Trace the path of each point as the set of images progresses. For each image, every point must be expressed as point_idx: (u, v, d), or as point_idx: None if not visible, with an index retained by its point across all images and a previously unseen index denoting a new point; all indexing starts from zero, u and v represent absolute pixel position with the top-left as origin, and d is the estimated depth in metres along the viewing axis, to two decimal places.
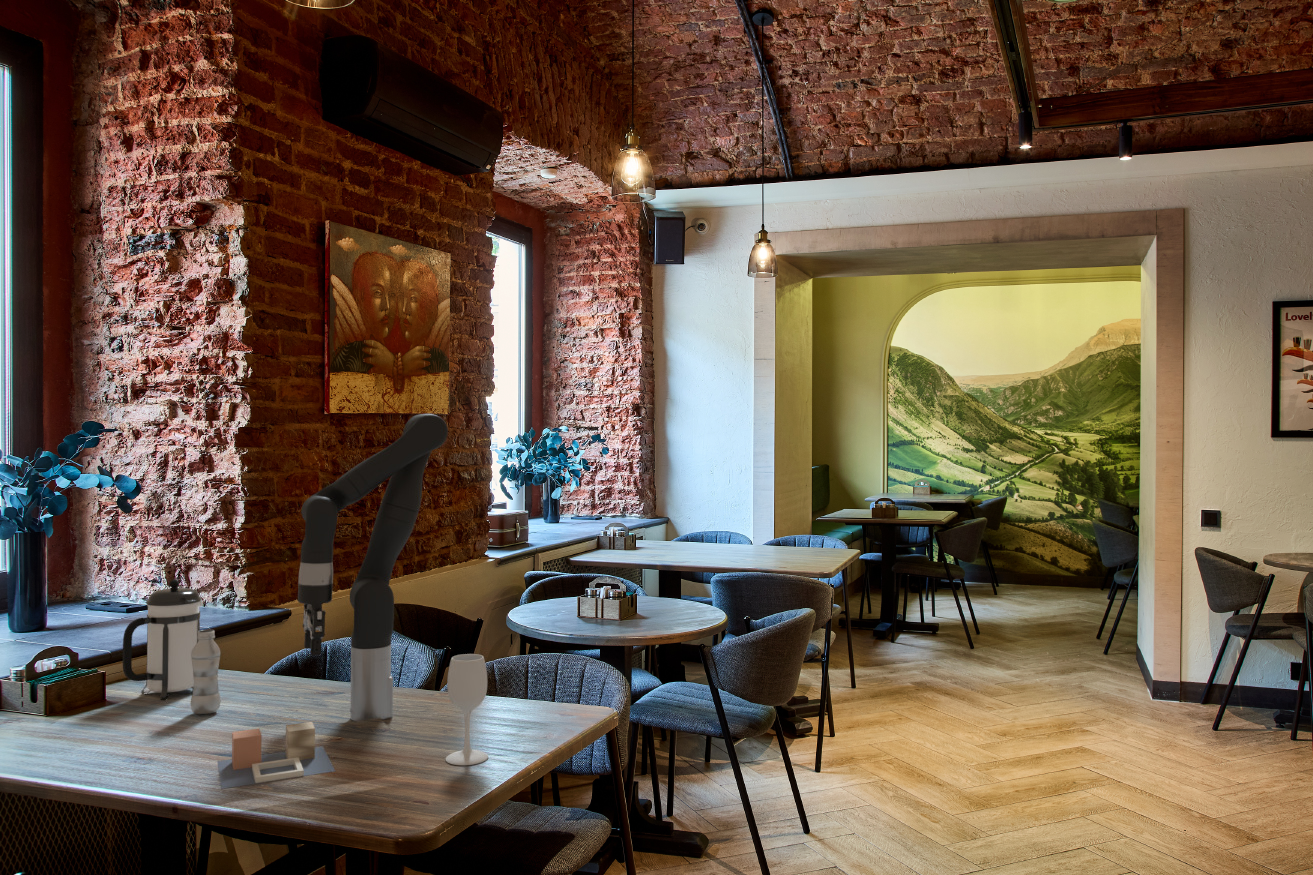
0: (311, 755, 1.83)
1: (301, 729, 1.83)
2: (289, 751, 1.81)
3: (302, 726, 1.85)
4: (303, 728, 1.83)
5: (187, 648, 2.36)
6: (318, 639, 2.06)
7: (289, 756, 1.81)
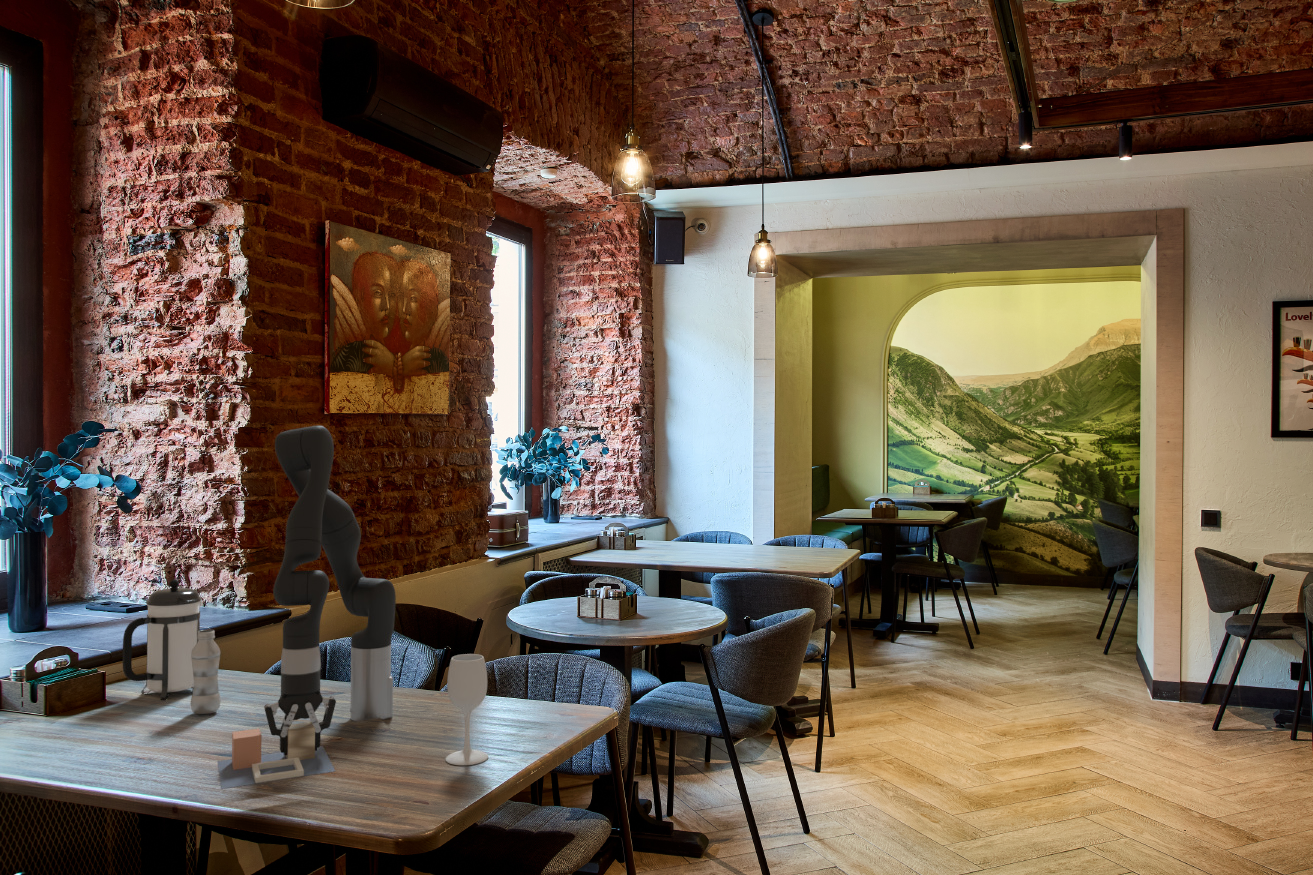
0: (311, 755, 1.83)
1: (301, 729, 1.83)
2: (289, 751, 1.81)
3: (302, 726, 1.85)
4: (303, 728, 1.83)
5: (187, 648, 2.36)
6: None
7: (289, 756, 1.81)
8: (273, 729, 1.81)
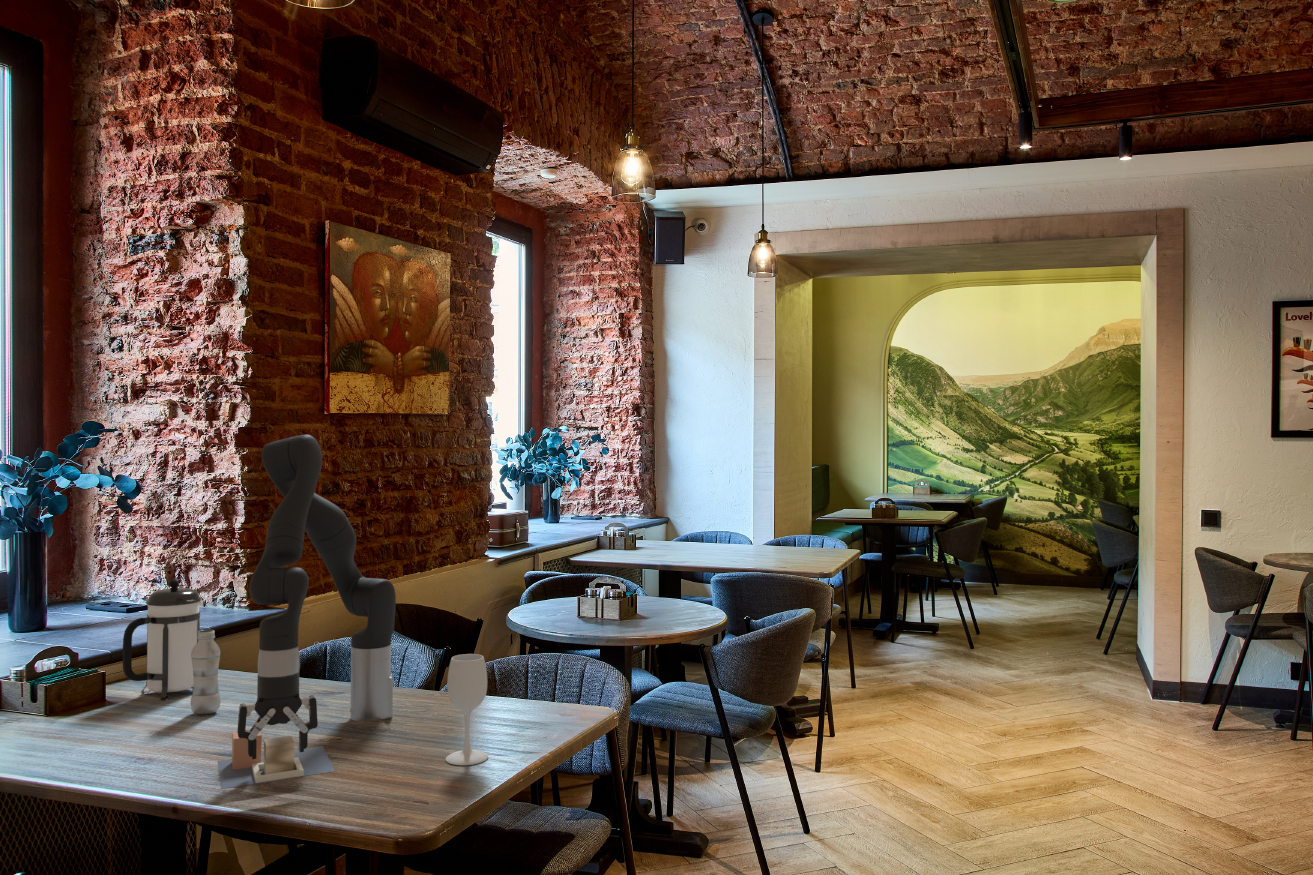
0: None
1: (279, 744, 1.73)
2: (267, 767, 1.72)
3: (281, 740, 1.75)
4: (281, 742, 1.74)
5: (187, 648, 2.36)
6: None
7: (267, 772, 1.72)
8: (240, 732, 1.71)
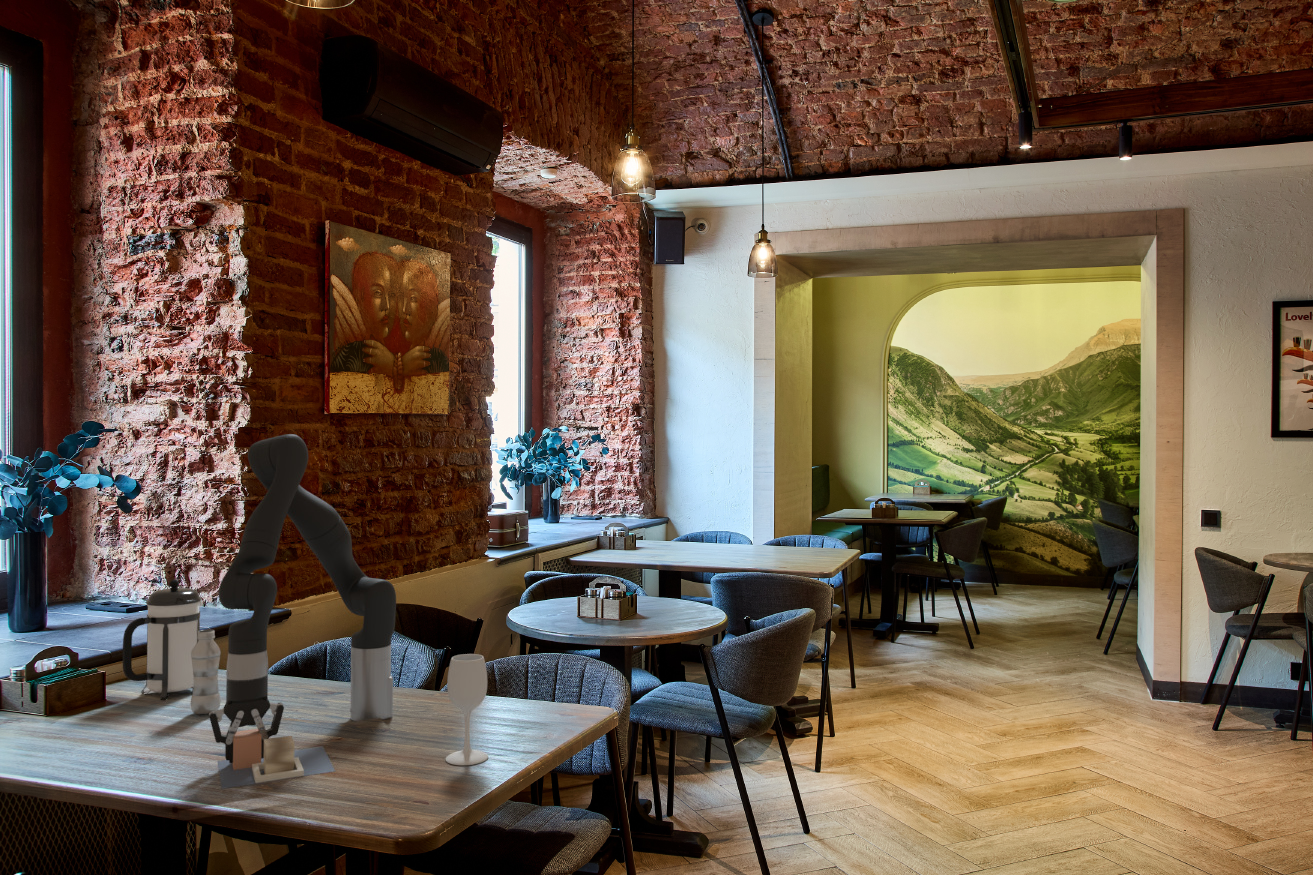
0: None
1: (279, 744, 1.73)
2: (267, 767, 1.72)
3: (281, 740, 1.75)
4: (281, 742, 1.74)
5: (187, 648, 2.36)
6: None
7: (267, 772, 1.72)
8: (218, 736, 1.76)
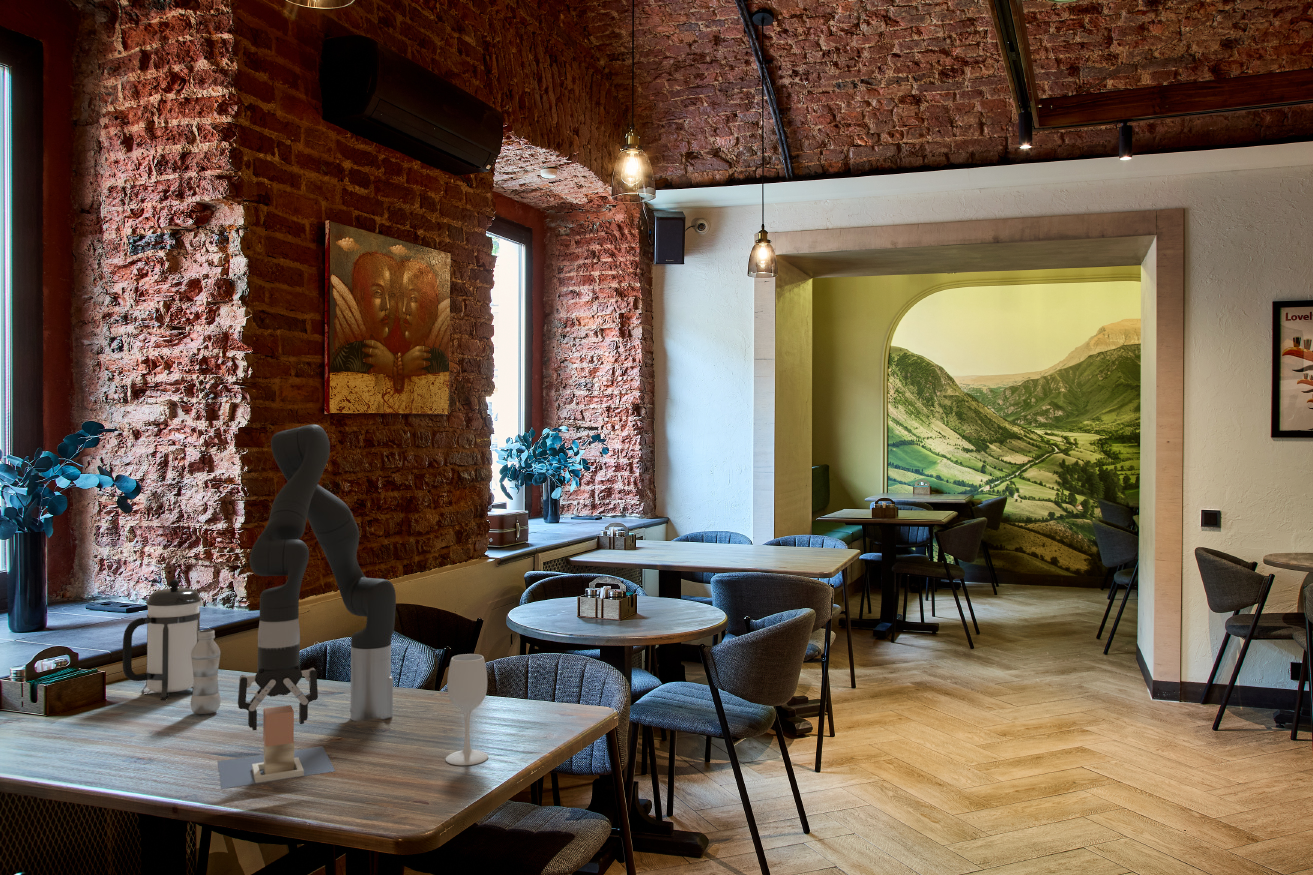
0: None
1: None
2: (267, 767, 1.72)
3: None
4: None
5: (187, 648, 2.36)
6: None
7: (267, 772, 1.72)
8: (241, 702, 1.71)
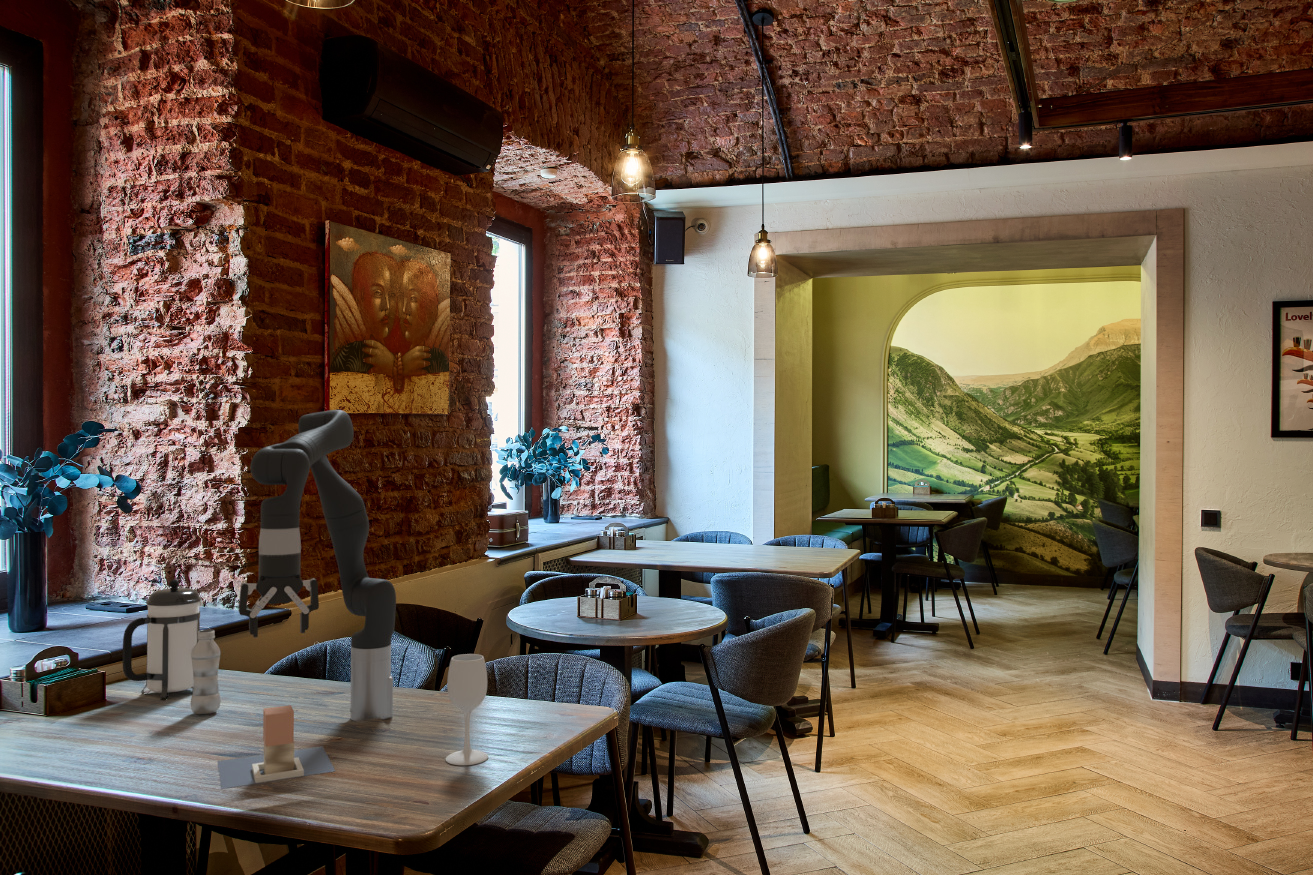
0: None
1: None
2: (267, 767, 1.72)
3: None
4: None
5: (187, 648, 2.36)
6: None
7: (267, 772, 1.72)
8: (242, 609, 1.72)
